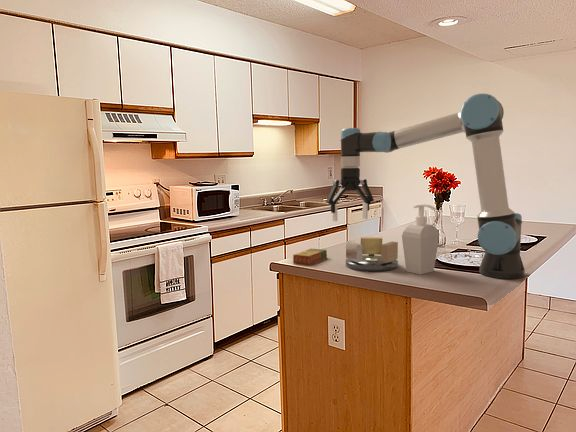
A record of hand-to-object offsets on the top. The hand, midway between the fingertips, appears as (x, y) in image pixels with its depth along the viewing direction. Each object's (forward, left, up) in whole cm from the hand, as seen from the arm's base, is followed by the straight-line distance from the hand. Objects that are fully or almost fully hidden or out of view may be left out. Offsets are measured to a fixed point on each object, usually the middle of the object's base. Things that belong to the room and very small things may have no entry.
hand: (350, 220), depth 181 cm
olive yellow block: (+6, -11, -16) cm, 21 cm away
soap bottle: (-15, -24, -19) cm, 34 cm away
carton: (+12, +15, -19) cm, 27 cm away
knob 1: (-4, -1, -17) cm, 17 cm away
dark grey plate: (-2, -8, -19) cm, 21 cm away
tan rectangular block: (-8, -14, -17) cm, 23 cm away
